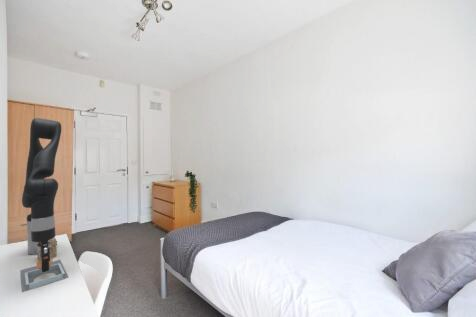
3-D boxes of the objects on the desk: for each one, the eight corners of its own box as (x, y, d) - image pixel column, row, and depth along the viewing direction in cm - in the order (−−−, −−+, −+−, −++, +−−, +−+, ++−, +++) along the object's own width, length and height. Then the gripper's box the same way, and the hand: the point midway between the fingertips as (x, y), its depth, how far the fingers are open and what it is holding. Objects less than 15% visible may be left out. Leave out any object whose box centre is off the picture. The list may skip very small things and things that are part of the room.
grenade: (45, 262, 110) (44, 231, 109) (33, 261, 111) (32, 230, 111) (60, 255, 117) (59, 226, 117) (49, 255, 118) (48, 226, 118)
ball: (51, 265, 97) (51, 253, 97) (53, 268, 94) (52, 256, 94) (36, 269, 94) (35, 257, 94) (37, 273, 90) (36, 260, 90)
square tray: (24, 277, 95) (24, 272, 95) (60, 267, 103) (59, 262, 103) (26, 290, 85) (26, 285, 85) (65, 278, 93) (64, 273, 93)
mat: (20, 271, 101) (20, 270, 101) (60, 260, 111) (60, 259, 111) (22, 293, 84) (21, 292, 84) (68, 278, 94) (68, 277, 94)
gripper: (57, 229, 91) (58, 271, 92) (52, 222, 102) (54, 260, 102) (32, 233, 86) (33, 278, 86) (29, 226, 96) (31, 266, 96)
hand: (44, 268), depth 94 cm, fingers closed on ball, 5 cm apart
